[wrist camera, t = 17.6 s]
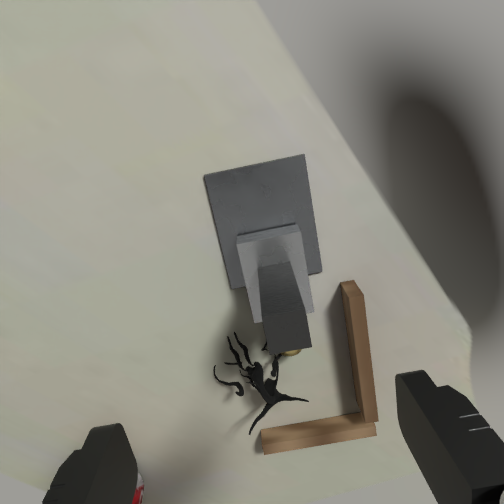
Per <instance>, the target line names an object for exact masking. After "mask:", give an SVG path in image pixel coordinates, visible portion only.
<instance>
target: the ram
mask: <svg viewBox="0 0 504 504" xmlns="http://www.w3.org/2000/svg"><path fill="white" fill-rule="evenodd" d="M236 245H237V249H238V253H239V258H240V262H241V267H242V271H243V275H244V280H245V284H246V288H247V293H248V297H249V302H250V306H251V310H252V315H253V319H254V323H259V322H263V326H264V331H265V335H266V340H267V344H268V349H269V353H270V355H272V354H277V353H280V354H282V355H284V356H294V355H296V354H298V353H299V352H300V351H301V350H302V349H304V348H310V347H312V344H311V338H310V333H309V327H308V321H307V316H306V314H307V313H312V312H314V307H313V302H312V296H311V290H310V284H309V278H308V272H307V266H306V260H305V254H304V248H303V242H302V236H301V231H300V229H299V227H298V225H297V224H295V225H290V226H285V227H280V228H275V229H270V230H265V231H260V232H255V233H250V234H245V235H240V236H237V244H236Z"/></svg>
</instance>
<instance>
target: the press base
mask: <svg viewBox="0 0 504 504" xmlns="http://www.w3.org/2000/svg"><path fill="white" fill-rule="evenodd" d="M204 177H205V181H206V186H207V190H208V194H209V198H210V202H211V206H212V210H213V214H214V219H215V223H216V227H217V231H218V235H219V239H220V243H221V247H222V251H223V256H224V260H225V264H226V268H227V272H228V276H229V280H230V284H231V289H235V288H240V287H245V286H246V284H245V280H244V275H243V271H242V267H241V262H240V258H239V253H238V249H237V245H236V244H237V236H240V235H245V234H250V233H255V232H260V231H265V230H270V229H275V228H280V227H285V226H290V225H295V224H297V225H298V227H299V229H300V231H301V236H302V242H303V248H304V254H305V260H306V266H307V272H308V274H312V273H317V272H322V264H321V258H320V251H319V245H318V238H317V232H316V225H315V219H314V212H313V206H312V199H311V193H310V186H309V180H308V173H307V167H306V160H305V154H301V155H296V156H292V157H287V158H282V159H277V160H273V161H268V162H263V163H258V164H254V165H249V166H244V167H239V168H234V169H230V170H225V171H220V172H215V173H211V174H206V175H204Z"/></svg>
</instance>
